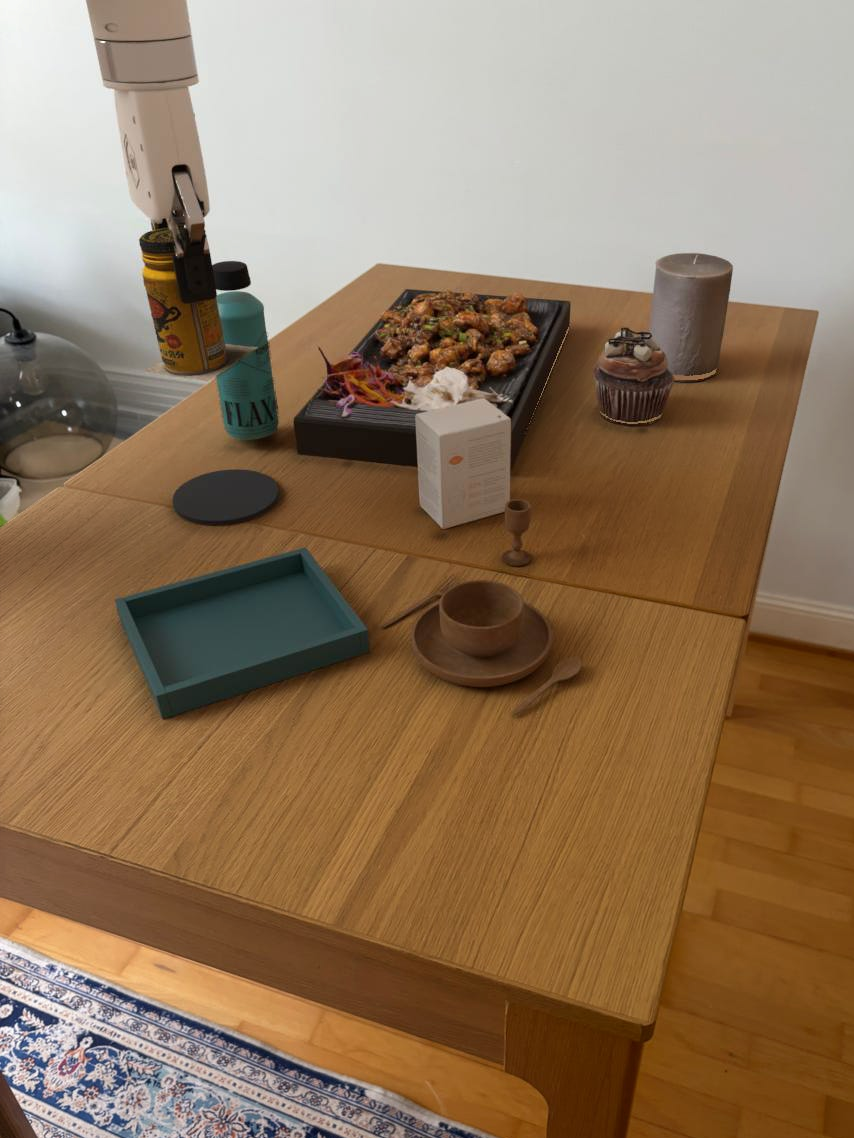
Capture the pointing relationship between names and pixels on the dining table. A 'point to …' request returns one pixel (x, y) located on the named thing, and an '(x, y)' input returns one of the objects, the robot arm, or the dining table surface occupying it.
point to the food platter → (433, 372)
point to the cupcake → (632, 378)
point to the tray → (239, 630)
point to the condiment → (183, 318)
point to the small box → (463, 462)
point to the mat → (225, 497)
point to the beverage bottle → (250, 377)
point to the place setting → (487, 627)
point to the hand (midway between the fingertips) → (188, 287)
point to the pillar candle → (690, 311)
